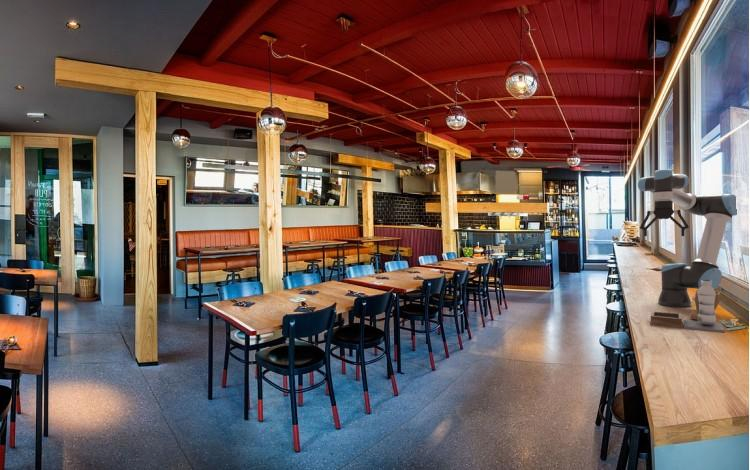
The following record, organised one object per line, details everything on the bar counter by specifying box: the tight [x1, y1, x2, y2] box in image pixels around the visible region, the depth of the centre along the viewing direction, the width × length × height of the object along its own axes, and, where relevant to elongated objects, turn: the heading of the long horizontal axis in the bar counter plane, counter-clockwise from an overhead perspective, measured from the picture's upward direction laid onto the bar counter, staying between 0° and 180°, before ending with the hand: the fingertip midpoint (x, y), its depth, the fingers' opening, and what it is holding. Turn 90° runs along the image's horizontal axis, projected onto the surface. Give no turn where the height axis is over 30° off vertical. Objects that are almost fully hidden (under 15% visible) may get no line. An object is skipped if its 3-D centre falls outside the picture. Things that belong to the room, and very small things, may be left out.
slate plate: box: [682, 319, 725, 333], centre depth 189 cm, size 14×14×1 cm
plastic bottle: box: [696, 280, 717, 325], centre depth 188 cm, size 6×7×20 cm
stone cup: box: [688, 289, 722, 321], centre depth 201 cm, size 15×12×15 cm
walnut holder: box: [650, 310, 683, 329], centre depth 197 cm, size 12×12×4 cm
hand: (663, 242), depth 211 cm, fingers open, 13 cm apart
